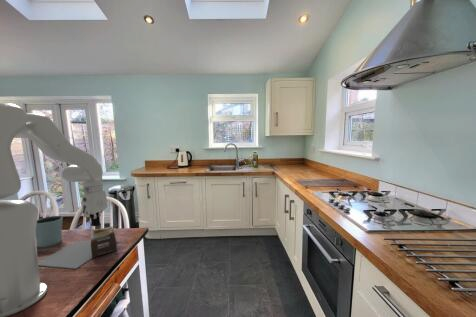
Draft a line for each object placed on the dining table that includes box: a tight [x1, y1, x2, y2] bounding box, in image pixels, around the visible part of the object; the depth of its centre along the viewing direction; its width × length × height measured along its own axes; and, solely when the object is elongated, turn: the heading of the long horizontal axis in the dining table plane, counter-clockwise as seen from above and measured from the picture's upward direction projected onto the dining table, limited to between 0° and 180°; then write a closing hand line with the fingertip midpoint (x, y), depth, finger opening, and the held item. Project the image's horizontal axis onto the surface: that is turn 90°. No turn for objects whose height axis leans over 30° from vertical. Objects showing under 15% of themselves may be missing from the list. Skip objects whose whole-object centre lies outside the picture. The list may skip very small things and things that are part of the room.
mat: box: [38, 240, 95, 270], centre depth 84 cm, size 19×20×1 cm
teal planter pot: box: [36, 215, 64, 248], centre depth 94 cm, size 10×10×12 cm
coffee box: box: [90, 225, 117, 259], centre depth 88 cm, size 9×6×16 cm
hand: (95, 225), depth 93 cm, fingers closed
